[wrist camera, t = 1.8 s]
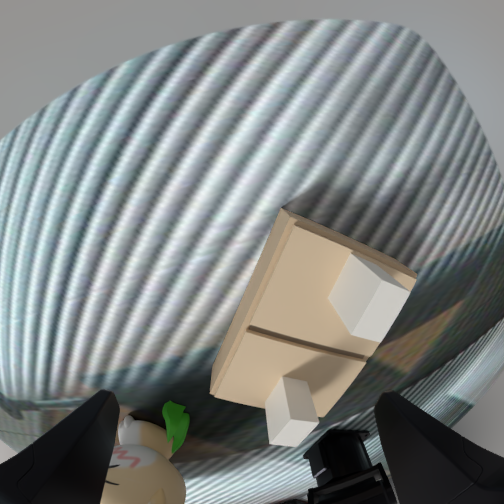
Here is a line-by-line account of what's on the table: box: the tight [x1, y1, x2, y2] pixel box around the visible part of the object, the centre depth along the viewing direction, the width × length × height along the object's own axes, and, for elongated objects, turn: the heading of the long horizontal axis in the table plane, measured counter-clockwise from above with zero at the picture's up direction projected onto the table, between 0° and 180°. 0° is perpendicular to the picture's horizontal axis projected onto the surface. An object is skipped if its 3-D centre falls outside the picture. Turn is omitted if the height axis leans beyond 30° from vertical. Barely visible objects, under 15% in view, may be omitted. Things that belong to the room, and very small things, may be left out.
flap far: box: [214, 329, 366, 447], centre depth 16 cm, size 9×6×4 cm
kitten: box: [100, 401, 190, 504], centre depth 17 cm, size 15×10×15 cm
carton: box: [210, 208, 417, 395], centre depth 19 cm, size 10×14×4 cm
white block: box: [250, 224, 416, 356], centre depth 14 cm, size 9×6×4 cm
